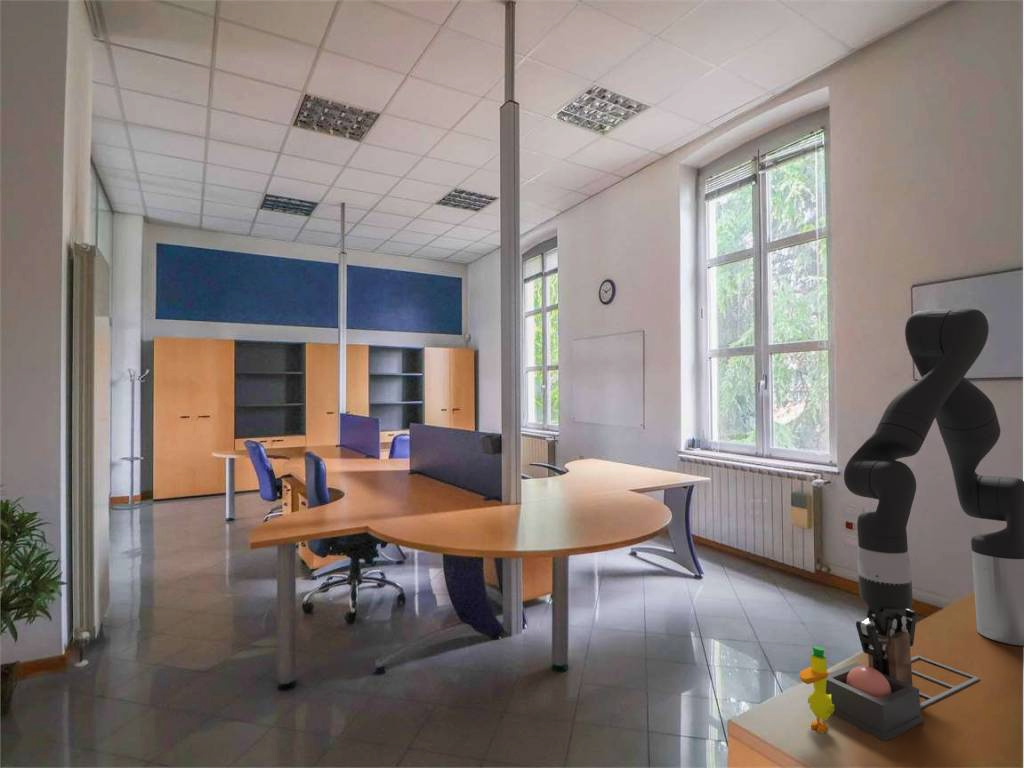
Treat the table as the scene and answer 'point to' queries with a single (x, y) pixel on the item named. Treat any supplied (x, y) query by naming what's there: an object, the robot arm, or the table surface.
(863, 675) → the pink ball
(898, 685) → the housing
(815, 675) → the toy figure
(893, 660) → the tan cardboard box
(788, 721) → the table surface
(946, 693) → the frame
